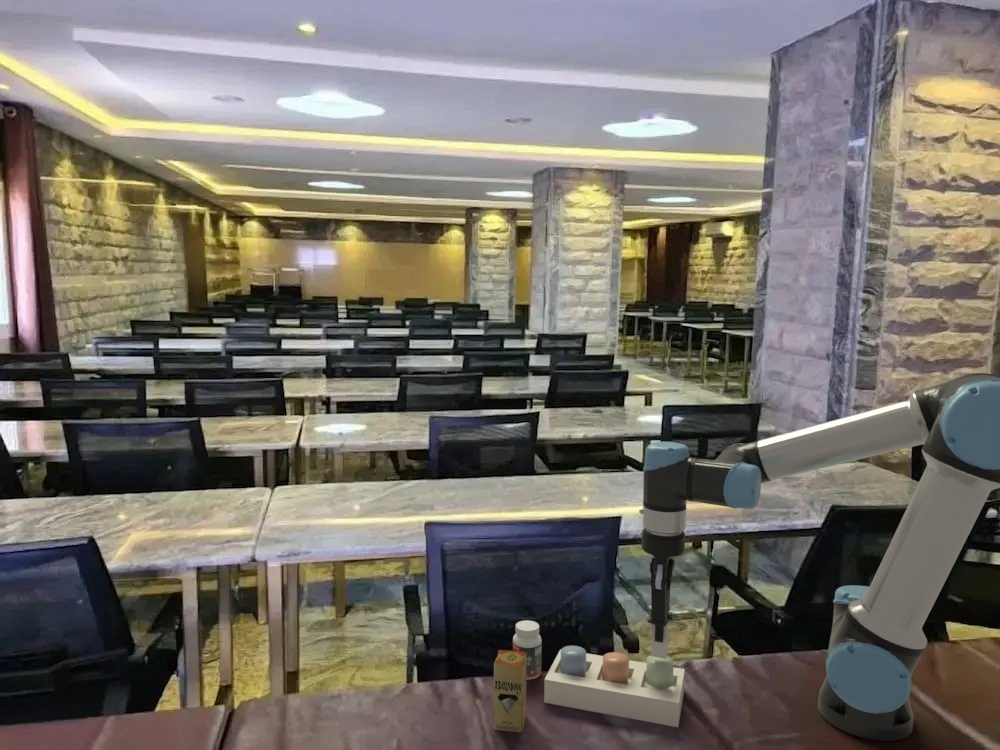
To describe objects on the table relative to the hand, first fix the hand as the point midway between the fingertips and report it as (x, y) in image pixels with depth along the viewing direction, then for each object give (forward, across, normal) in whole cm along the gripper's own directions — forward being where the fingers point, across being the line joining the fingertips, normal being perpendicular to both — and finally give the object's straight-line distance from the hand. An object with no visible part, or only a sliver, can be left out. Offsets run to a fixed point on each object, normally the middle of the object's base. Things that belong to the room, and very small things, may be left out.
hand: (659, 655), depth 133 cm
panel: (+10, 0, -8) cm, 12 cm away
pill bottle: (+10, -3, -26) cm, 28 cm away
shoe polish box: (+10, +14, -24) cm, 29 cm away
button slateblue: (+6, 0, -16) cm, 17 cm away
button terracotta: (+6, 0, -8) cm, 10 cm away
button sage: (+5, 0, 0) cm, 5 cm away
